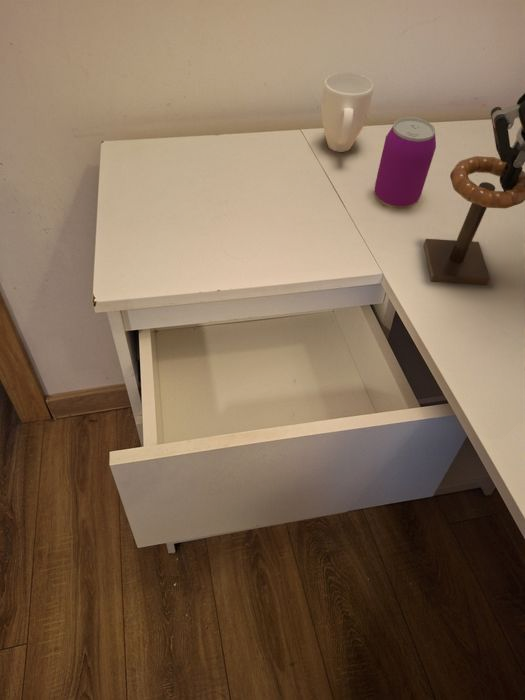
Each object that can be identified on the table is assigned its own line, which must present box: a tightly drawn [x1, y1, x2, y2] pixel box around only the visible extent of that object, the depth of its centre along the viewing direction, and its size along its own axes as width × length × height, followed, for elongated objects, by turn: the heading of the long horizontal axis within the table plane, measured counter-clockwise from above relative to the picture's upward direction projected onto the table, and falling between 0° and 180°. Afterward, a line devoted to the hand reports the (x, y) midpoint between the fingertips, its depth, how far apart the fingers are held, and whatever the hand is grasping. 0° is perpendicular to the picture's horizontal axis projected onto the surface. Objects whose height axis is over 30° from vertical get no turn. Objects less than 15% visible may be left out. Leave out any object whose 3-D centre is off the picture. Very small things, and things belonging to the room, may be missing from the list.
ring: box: [449, 155, 525, 210], centre depth 65 cm, size 10×10×2 cm
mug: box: [320, 71, 374, 153], centre depth 90 cm, size 12×8×11 cm
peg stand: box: [423, 181, 496, 285], centre depth 71 cm, size 8×8×13 cm
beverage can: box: [374, 117, 437, 209], centre depth 81 cm, size 8×8×12 cm
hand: (516, 189), depth 66 cm, fingers closed on ring, 2 cm apart
